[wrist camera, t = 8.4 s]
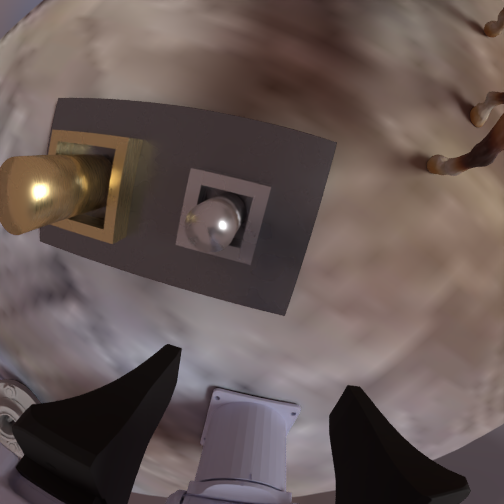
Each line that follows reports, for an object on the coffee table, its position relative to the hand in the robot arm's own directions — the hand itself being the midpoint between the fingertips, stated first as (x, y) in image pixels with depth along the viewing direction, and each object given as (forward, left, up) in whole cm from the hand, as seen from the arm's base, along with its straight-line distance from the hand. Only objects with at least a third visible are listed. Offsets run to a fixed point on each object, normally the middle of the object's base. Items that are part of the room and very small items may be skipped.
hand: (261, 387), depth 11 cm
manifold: (+5, +9, -10) cm, 14 cm away
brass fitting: (+5, +14, -9) cm, 17 cm away
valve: (-32, +32, -10) cm, 46 cm away
